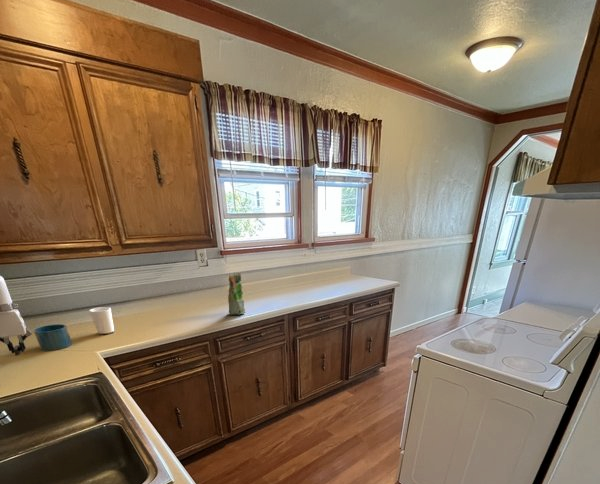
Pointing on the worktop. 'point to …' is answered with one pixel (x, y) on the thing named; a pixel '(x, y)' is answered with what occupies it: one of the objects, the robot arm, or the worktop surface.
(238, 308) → the pouch
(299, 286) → the worktop surface
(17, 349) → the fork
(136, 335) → the worktop surface
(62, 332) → the crock
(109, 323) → the cup
